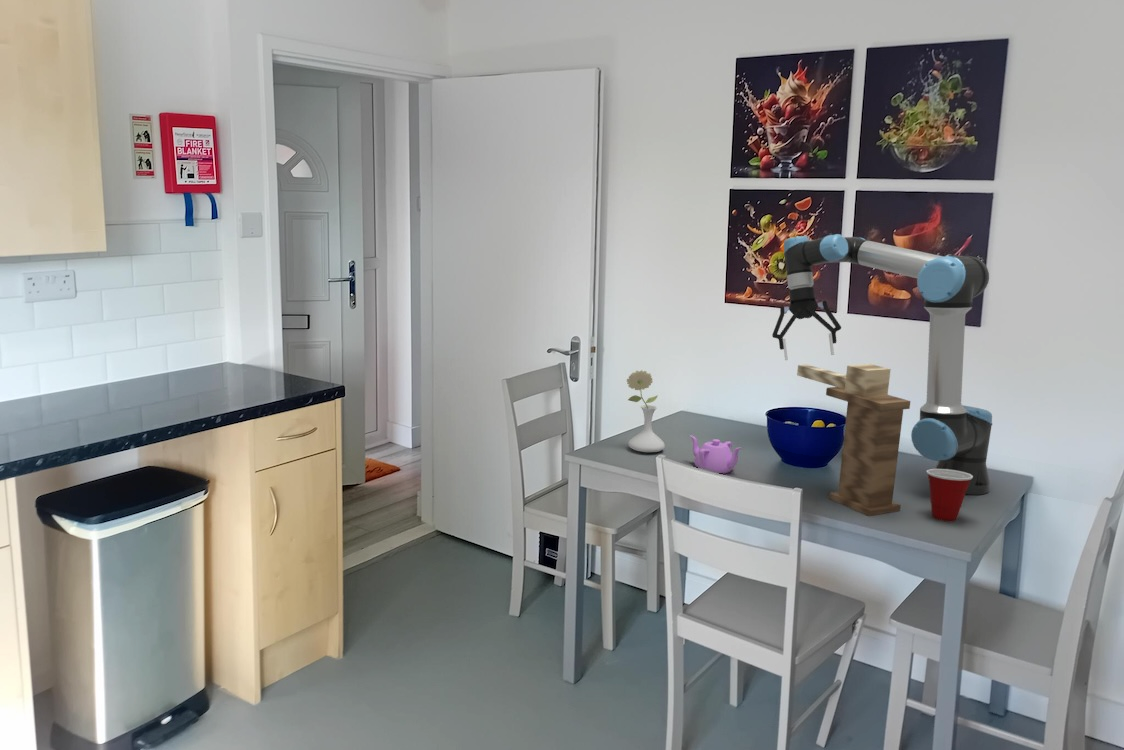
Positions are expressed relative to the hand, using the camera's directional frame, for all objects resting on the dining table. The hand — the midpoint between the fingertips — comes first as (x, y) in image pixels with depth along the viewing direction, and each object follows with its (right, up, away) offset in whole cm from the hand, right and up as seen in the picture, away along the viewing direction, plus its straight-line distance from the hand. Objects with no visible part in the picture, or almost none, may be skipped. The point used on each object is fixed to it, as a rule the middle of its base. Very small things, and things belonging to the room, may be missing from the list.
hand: (809, 357), depth 267 cm
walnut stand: (+3, -39, -33) cm, 51 cm away
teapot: (-31, -33, -11) cm, 46 cm away
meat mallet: (-1, -8, -30) cm, 31 cm away
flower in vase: (-50, -29, +6) cm, 58 cm away
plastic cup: (+22, -42, -43) cm, 64 cm away
